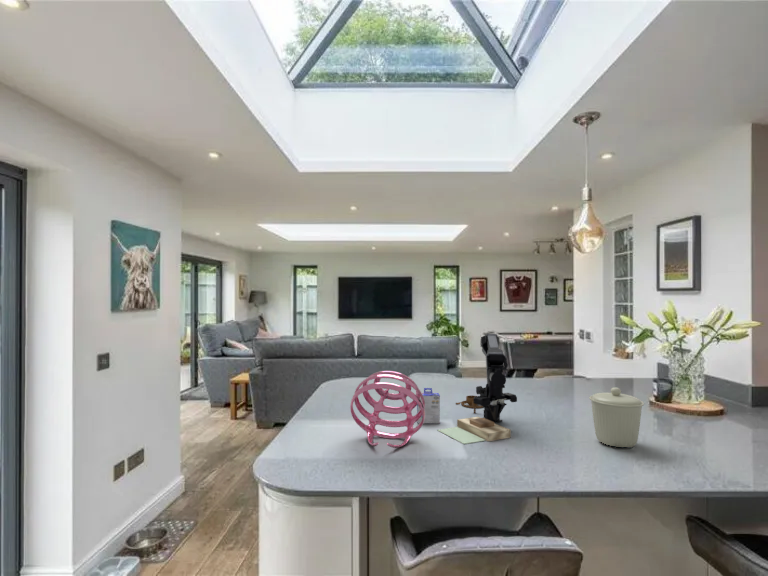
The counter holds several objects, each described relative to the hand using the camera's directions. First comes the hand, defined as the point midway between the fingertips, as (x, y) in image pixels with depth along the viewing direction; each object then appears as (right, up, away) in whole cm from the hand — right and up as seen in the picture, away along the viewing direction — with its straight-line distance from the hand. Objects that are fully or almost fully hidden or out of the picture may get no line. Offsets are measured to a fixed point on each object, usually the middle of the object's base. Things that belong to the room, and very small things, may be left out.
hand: (495, 420), depth 174 cm
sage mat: (-16, -4, -8) cm, 18 cm away
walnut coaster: (-6, -1, -3) cm, 7 cm away
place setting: (-3, -6, +37) cm, 37 cm away
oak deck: (-6, -4, -3) cm, 8 cm away
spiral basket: (-44, -3, -16) cm, 47 cm away
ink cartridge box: (-27, -4, +10) cm, 29 cm away
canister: (+41, -4, -16) cm, 44 cm away
